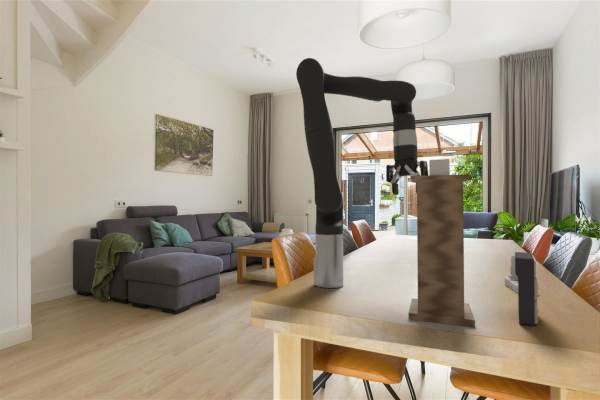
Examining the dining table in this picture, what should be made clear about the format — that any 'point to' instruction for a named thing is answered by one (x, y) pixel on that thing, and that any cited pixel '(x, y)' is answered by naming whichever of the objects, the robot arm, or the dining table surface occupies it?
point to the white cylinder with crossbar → (439, 167)
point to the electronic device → (512, 277)
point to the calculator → (526, 288)
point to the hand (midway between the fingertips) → (407, 194)
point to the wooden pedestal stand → (440, 251)
